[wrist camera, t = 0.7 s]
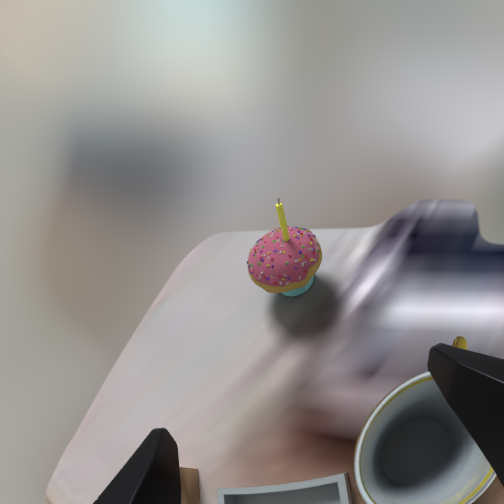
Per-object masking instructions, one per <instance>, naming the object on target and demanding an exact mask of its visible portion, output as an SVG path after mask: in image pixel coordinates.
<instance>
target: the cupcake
mask: <svg viewBox="0 0 504 504" xmlns="http://www.w3.org/2000/svg"><path fill="white" fill-rule="evenodd" d="M277 199H278V203H277V204H276V209H277V213H278V217H279V222H280V226H281V228H278V229H276V230H272V231H271V232H269V233H267V234H266V235H264V236H263V237H262V238H261V239H259V240H258V241H257V242H256V244H255V245H254V247H253V248H252V249H251V250H250V253H249V254H250V255H249V259H248V261H247V264H248V269H249V275H250V277H251V279H252V280H253V282H254V283H256V284H257V285H258V286H260V287H262V288H263V289H264V290H265V291H267V292H269V293H281V294H283V295H285V296H298V295H301V294H303V293H304V292H306V291H307V290H308V289H309V288H310V287H311V285H312V283H313V280H314V274H315V273H316V271H317V270H318V268H319V266H320V264H321V261H322V251H321V248H320V245H319V243H318V241H317V239H316V237H315V235H313V234H312V232H311V231H309V230H308V229H307V230H308V231H307V230H306V229H304V228H302V227H301V228H298V227H294V226H292V227H287V224H286V219H285V214H284V210H283V205H282V203H280V200H279V197H278V198H277Z"/></svg>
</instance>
